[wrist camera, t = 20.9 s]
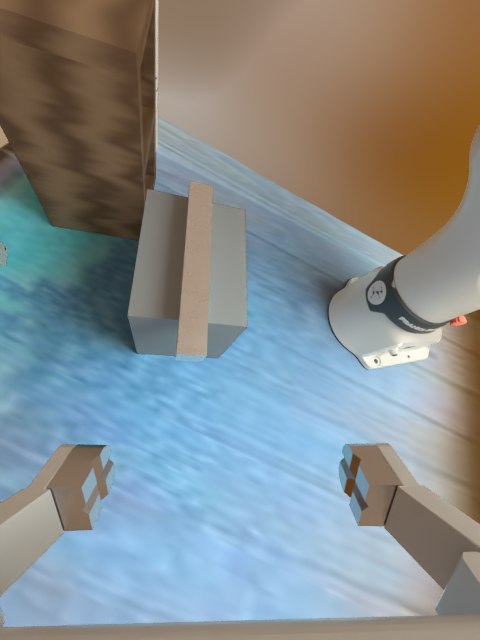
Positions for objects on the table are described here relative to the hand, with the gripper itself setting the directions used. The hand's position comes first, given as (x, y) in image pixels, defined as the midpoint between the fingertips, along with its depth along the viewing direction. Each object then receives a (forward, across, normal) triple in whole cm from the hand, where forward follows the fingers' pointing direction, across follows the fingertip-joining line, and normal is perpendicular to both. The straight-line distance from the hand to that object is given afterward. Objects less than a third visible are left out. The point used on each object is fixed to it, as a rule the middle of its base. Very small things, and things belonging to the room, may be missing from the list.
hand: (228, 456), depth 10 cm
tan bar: (+22, +4, -2) cm, 23 cm away
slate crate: (+35, +8, +6) cm, 36 cm away
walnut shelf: (+45, +21, -10) cm, 51 cm away
